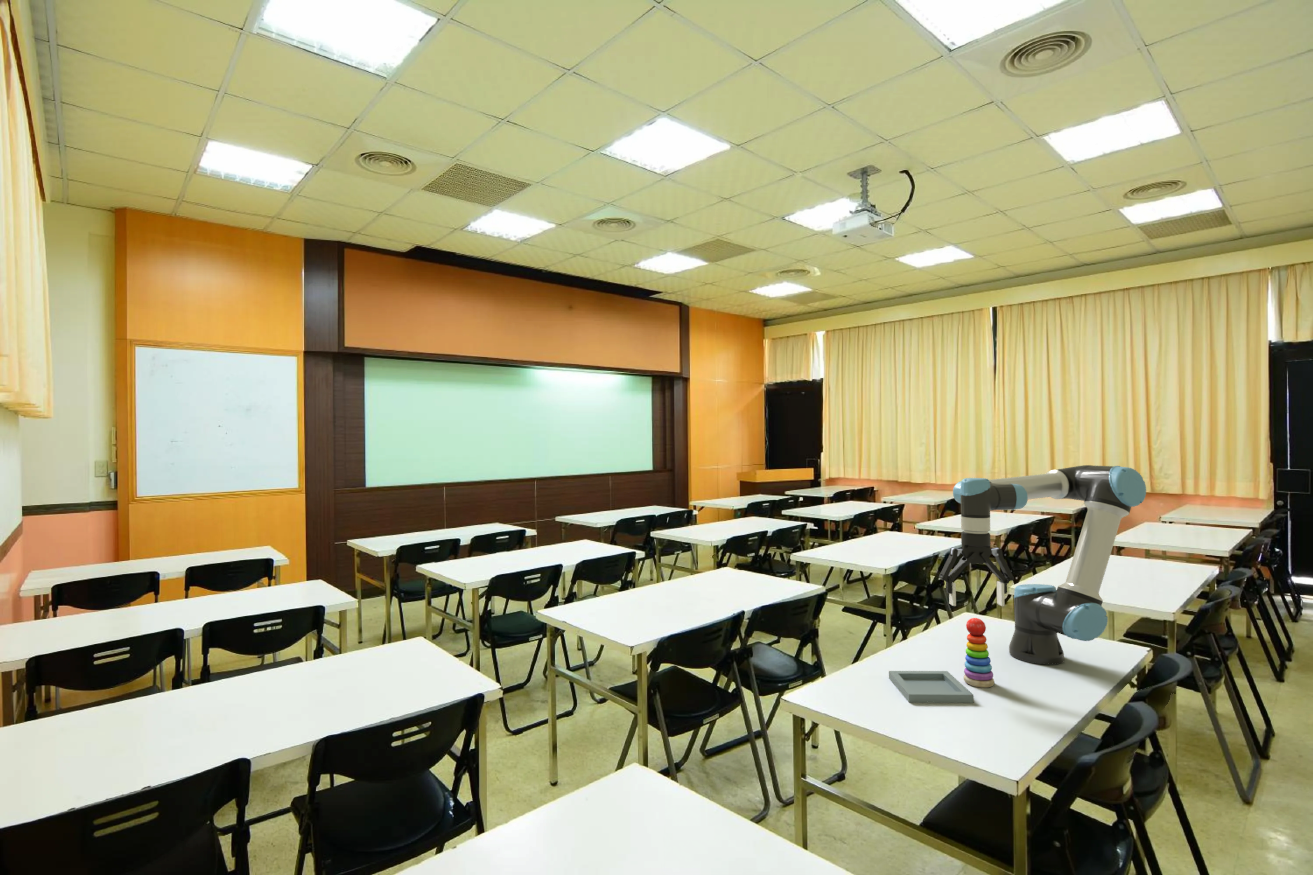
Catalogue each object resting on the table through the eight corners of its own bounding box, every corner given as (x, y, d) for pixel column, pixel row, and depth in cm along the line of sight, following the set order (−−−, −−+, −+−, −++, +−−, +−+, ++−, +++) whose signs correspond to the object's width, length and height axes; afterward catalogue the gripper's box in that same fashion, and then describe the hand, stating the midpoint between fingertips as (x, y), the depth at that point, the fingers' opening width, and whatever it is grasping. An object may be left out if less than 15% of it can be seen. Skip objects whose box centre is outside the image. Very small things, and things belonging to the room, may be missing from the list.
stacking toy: (987, 678, 183) (985, 614, 183) (999, 688, 175) (998, 622, 175) (959, 677, 184) (958, 614, 184) (970, 688, 176) (968, 622, 176)
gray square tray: (947, 678, 183) (947, 670, 183) (973, 702, 166) (973, 694, 166) (888, 678, 184) (888, 670, 184) (909, 702, 167) (908, 694, 167)
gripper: (1013, 529, 183) (1014, 601, 182) (926, 529, 184) (927, 601, 184) (1027, 533, 175) (1028, 608, 175) (936, 533, 176) (937, 608, 176)
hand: (976, 604), depth 179 cm, fingers open, 13 cm apart
